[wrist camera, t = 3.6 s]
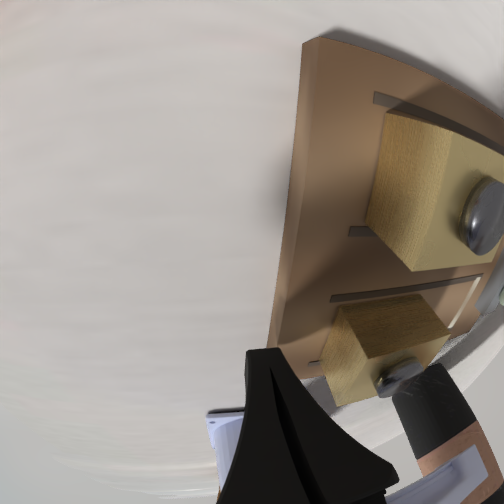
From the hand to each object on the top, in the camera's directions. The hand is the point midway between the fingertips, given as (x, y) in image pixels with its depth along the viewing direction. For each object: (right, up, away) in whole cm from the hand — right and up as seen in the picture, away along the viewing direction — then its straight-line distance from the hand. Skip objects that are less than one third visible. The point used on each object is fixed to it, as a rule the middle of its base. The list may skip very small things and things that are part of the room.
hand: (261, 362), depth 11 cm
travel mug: (+18, -10, +13) cm, 25 cm away
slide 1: (+6, +7, -2) cm, 10 cm away
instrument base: (+10, +5, +2) cm, 11 cm away
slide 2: (+6, +1, +2) cm, 6 cm away
